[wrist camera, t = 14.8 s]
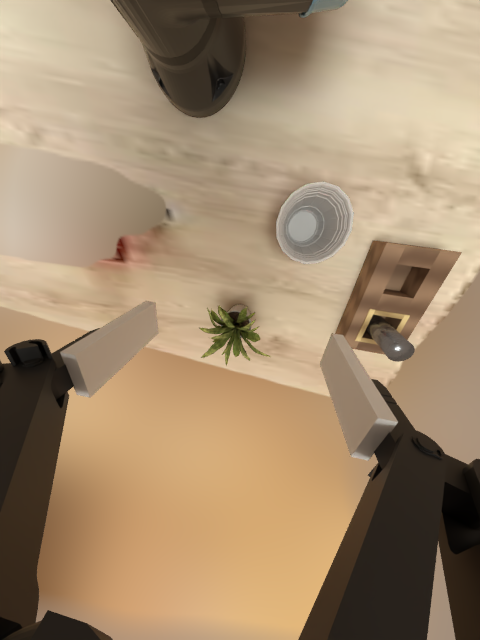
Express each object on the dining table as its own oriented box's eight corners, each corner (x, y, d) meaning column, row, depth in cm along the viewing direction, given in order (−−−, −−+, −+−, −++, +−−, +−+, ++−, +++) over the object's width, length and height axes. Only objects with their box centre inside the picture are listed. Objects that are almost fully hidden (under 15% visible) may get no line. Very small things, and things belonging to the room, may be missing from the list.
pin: (362, 309, 43) (392, 340, 32) (382, 311, 42) (419, 343, 31) (356, 324, 45) (382, 359, 33) (375, 327, 44) (407, 363, 33)
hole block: (373, 240, 37) (387, 242, 33) (438, 249, 36) (462, 252, 32) (334, 335, 47) (341, 347, 43) (385, 344, 46) (397, 357, 42)
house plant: (277, 290, 45) (280, 321, 30) (268, 339, 51) (266, 384, 37) (218, 282, 46) (193, 308, 32) (216, 331, 52) (195, 371, 38)
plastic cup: (339, 196, 35) (368, 183, 24) (322, 256, 40) (340, 268, 29) (280, 191, 36) (283, 176, 25) (271, 250, 41) (270, 259, 30)
